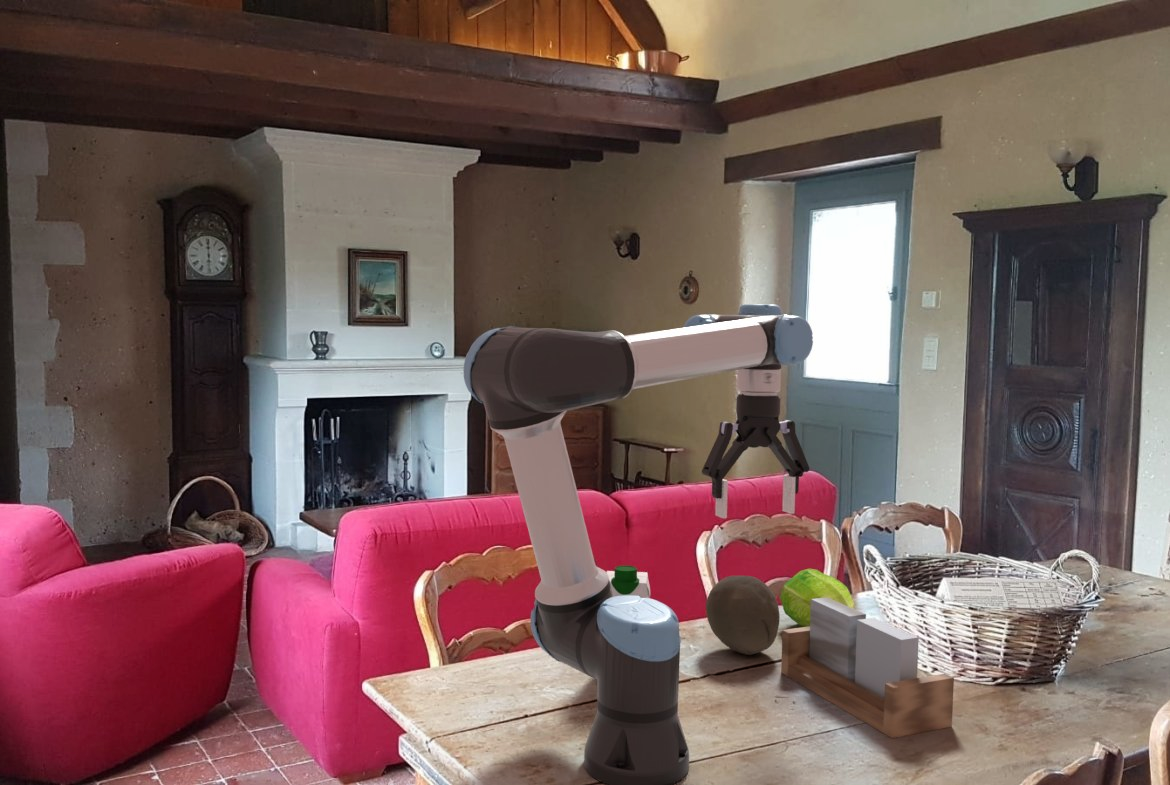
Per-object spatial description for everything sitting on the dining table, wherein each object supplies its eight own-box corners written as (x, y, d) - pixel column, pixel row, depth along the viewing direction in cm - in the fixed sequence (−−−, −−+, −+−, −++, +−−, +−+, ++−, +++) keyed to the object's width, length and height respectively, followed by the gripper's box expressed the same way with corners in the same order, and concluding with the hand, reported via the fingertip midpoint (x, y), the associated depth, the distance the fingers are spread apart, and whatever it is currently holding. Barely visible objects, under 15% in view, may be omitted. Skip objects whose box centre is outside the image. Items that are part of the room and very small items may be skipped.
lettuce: (818, 652, 190) (820, 592, 189) (769, 621, 209) (771, 566, 208) (880, 646, 194) (882, 587, 193) (826, 616, 213) (828, 562, 212)
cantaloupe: (775, 642, 195) (777, 568, 194) (781, 667, 181) (784, 588, 180) (704, 639, 197) (706, 566, 196) (705, 663, 183) (707, 585, 182)
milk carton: (598, 681, 173) (600, 570, 172) (602, 663, 182) (604, 558, 181) (647, 683, 172) (649, 572, 171) (649, 665, 181) (651, 560, 180)
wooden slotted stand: (891, 738, 151) (894, 649, 150) (781, 672, 178) (783, 597, 177) (951, 726, 155) (955, 640, 154) (835, 664, 183) (837, 591, 182)
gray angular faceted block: (898, 713, 155) (901, 639, 155) (854, 688, 166) (857, 619, 165) (915, 710, 157) (918, 637, 156) (871, 686, 167) (873, 617, 166)
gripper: (705, 396, 161) (702, 523, 162) (831, 394, 170) (827, 514, 171) (684, 392, 168) (681, 514, 169) (806, 391, 177) (803, 506, 178)
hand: (755, 514), depth 170 cm, fingers open, 13 cm apart
